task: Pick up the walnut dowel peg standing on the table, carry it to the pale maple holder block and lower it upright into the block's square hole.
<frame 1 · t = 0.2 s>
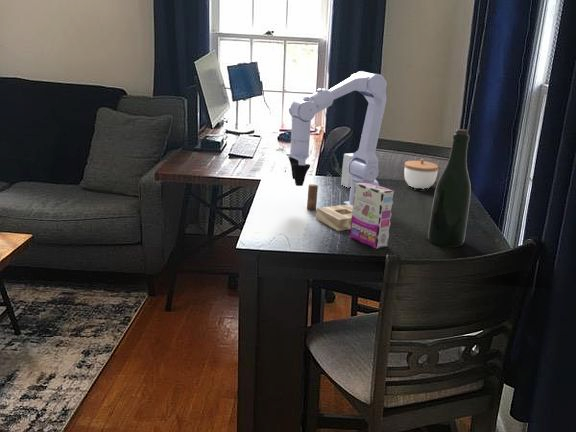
hand: (297, 182, 200), 10 cm above the table, tool pointing down, fingers open, 7 cm apart
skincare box: (350, 186, 239), on the table
holder block: (342, 222, 196), on the table
peg: (311, 209, 207), on the table
beer bottle: (445, 242, 185), on the table
lidded bowl: (418, 188, 243), on the table
candy bar box: (368, 242, 181), on the table
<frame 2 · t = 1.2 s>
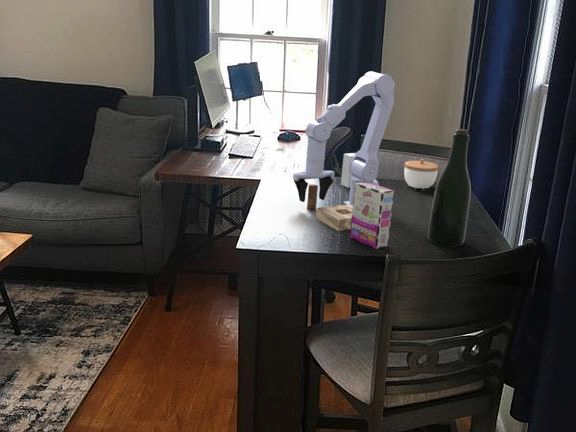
hand: (311, 200, 206), 3 cm above the table, tool pointing down, fingers open, 7 cm apart
nothing on the table moved.
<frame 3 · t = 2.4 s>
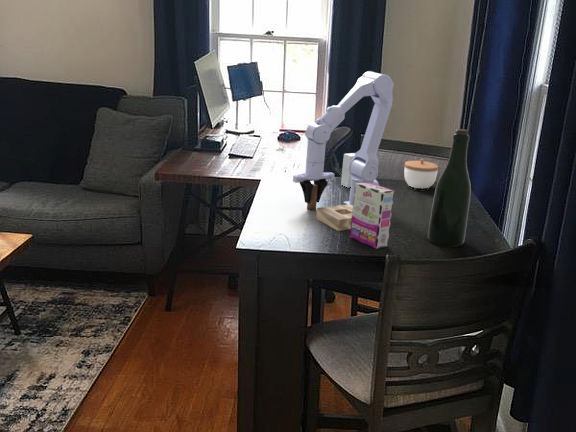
hand: (311, 202, 207), 2 cm above the table, tool pointing down, fingers closed on peg, 3 cm apart
peg: (311, 209, 207), on the table, touching gripper
everything else where it was.
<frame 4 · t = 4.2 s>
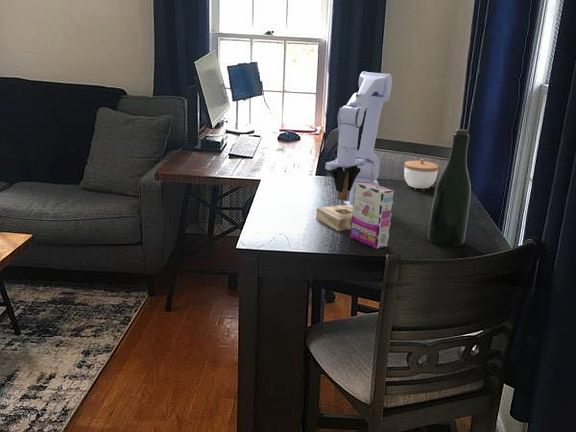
hand: (343, 190, 194), 10 cm above the table, tool pointing down, fingers closed on peg, 3 cm apart
peg: (342, 198, 195), point 7 cm above the table, touching gripper
everything else where it was.
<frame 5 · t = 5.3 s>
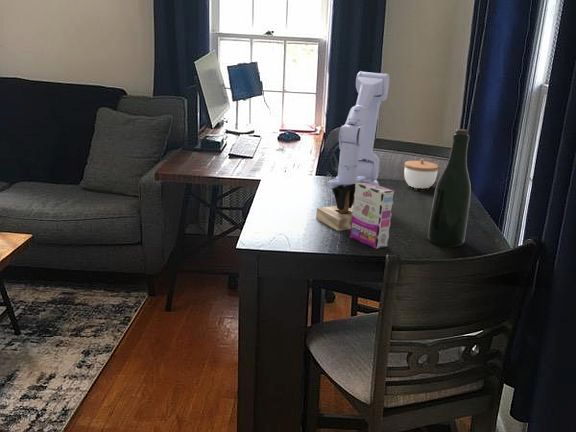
hand: (344, 208, 195), 5 cm above the table, tool pointing down, fingers closed on peg, 3 cm apart
peg: (343, 216, 196), point 2 cm above the table, touching gripper
everything else where it was.
when the fingers open (4 cm above the table, at t = 6.1 s): peg drops 2 cm, resting in holder block.
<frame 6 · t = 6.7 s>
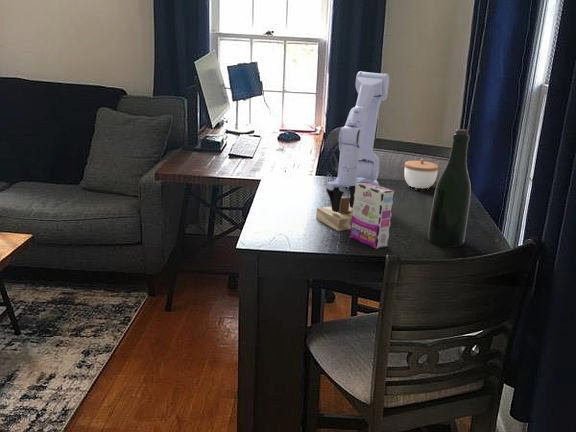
hand: (344, 209, 195), 4 cm above the table, tool pointing down, fingers open, 7 cm apart
peg: (342, 222, 196), resting in holder block
everything else where it was.
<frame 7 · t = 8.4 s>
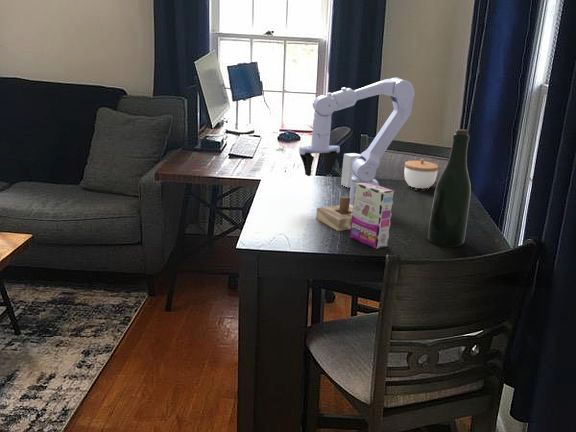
hand: (317, 174, 209), 10 cm above the table, tool pointing down, fingers open, 7 cm apart
nothing on the table moved.
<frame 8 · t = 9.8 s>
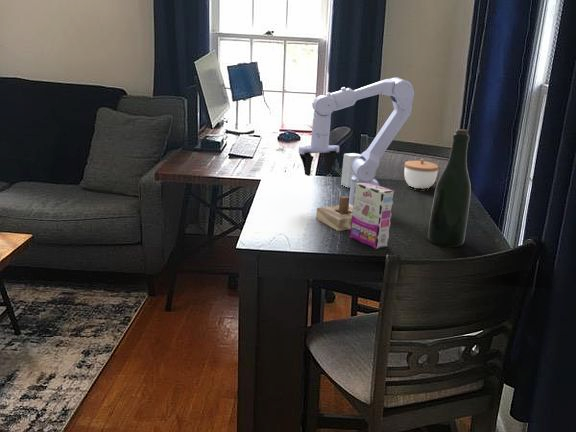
hand: (317, 174, 209), 10 cm above the table, tool pointing down, fingers open, 7 cm apart
nothing on the table moved.
at the end: peg 0.1 cm off-centre on the holder block, point 0.0 cm above the holder block's base; peg tilted 1°; the gripper is holding nothing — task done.
